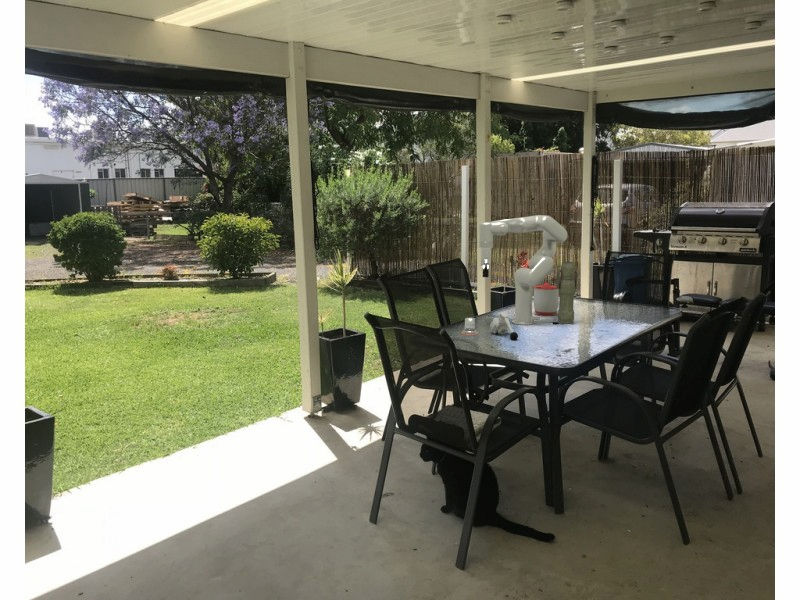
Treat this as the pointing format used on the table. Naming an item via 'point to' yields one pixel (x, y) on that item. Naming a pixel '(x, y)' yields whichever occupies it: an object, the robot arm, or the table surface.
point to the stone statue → (566, 292)
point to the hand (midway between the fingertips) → (485, 276)
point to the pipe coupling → (469, 326)
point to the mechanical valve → (502, 326)
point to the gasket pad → (469, 334)
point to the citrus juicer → (546, 299)
